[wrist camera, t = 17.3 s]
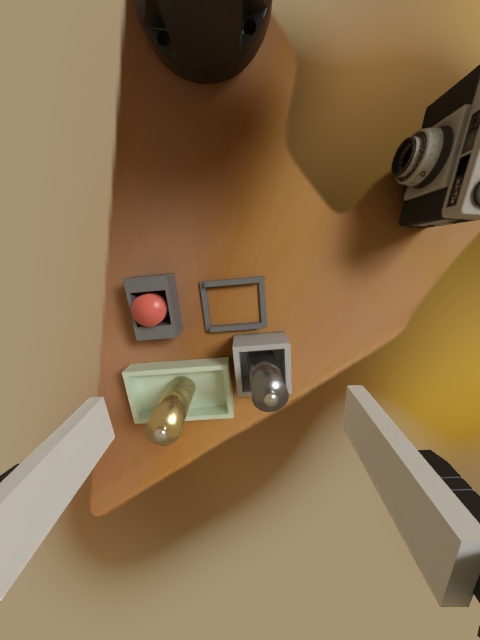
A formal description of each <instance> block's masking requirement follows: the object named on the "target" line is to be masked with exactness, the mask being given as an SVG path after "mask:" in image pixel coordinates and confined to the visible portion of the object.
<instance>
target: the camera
mask: <svg viewBox="0 0 480 640" xmlns="http://www.w3.org/2000/svg"><path fill="white" fill-rule="evenodd" d="M392 174H393V175H394V176H395V177H396V180H397V182H398V183H399V184H403V185H407V186H406V189H405V195H404V204H403V208H402V213H401V217H400V221H399V225H400V226H406V227H421V228H428V227H434V226H443V225H449V224H455V223H461V222H468V221H474V220H480V65H479V66H477V67H476V68H475V69H474V70H473V71H471V72H470V73H469V74H468V75H467V76H465V77H464V78H463V79H462V80H460V81H459V82H458V83H457V84H456V85H454V86H453V87H452V88H451V89H449V90H448V91H447V92H446V93H445V94H444V95H442V96H441V97H440V98H438V99H437V100H436V101H435V102H434V103H432V104H431V105H430V106H428V107H427V109H426V113H425V116H424V120H423V125H422V129H420V130H418V131H417V132H416V133H414V134H413V135H412V136H411V137H408V138H407V139H405V140H404V141H403V142H402V143H401V145H400V146H399V148H398V149H397V151H396V154H395V156H394V159H393V162H392Z"/></svg>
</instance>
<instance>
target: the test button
mask: <svg viewBox="0 0 480 640" xmlns="http://www.w3.org/2000/svg"><path fill="white" fill-rule="evenodd" d="M131 312H132V315H133V317H134V319H135V320H136V321H137V322H138V323H139V324H141V325H143V326H147V327H152V326H155V325H157V324H159V323H160V322H161V321H162V320H164V319H165V318H166V316H167V314H168V304H167V302H166V300H165V299H164V298H163V297H162V296H160V295H159V294H156V293H147V294H144V295H141V296H139V297H137V298H136V299H135V300H134V301H133V303H132V306H131Z"/></svg>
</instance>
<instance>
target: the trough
mask: <svg viewBox="0 0 480 640" xmlns="http://www.w3.org/2000/svg"><path fill="white" fill-rule="evenodd" d="M122 376H123V380H124V384H125V388H126V392H127V396H128V400H129V403H130V407H131V411H132V415H133V419H134V423H135V424H143V423H147V422H148V420H149V418H150V417H151V415H152V413H153V412H154V410H155V408H156V406H157V405H158V403H159V401H160V400H161V398H162V396H163V394H164V393H165V391H166V389H167V388H168V386H169V384H170V382H171V381H172V380H173V379H174V378H175V377H178V376H185V377H188V378H190V379H191V380H192V381H193V382H194V384H195V387H196V390H195V393H194V396H193V399H192V401H191V404H190V407H189V410H188V413H187V415H186V418H185V421H191V420H207V419H223V418H234V400H233V391H232V381H231V372H230V363H229V357H221V358H208V359H194V360H181V361H167V362H153V363H140V364H130V365H129V366H128V367H127V368H126V369H125V370H124V371H123V372H122Z"/></svg>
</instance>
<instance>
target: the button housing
mask: <svg viewBox="0 0 480 640" xmlns="http://www.w3.org/2000/svg"><path fill="white" fill-rule="evenodd" d="M123 283H124V287H125V292H126V296H127V300H128V305H129V309H130V314H131V318H132V323H133V327H134V332H135V336H136V341H142V340H155V339H168V338H177V337H178V336H179V335H180V334H181V332H182V331H183V326H182V320H181V314H180V307H179V301H178V295H177V289H176V283H175V277H174V273H169V274H158V275H146V276H135V277H130V278H124V279H123ZM160 290H165V292H166V298H167V303H168V309H169V315H170V319H165V320H162V321H161V322H160V323H159V324H157V325H155V326H152V327H147V326H143V325H141V324H139V323H138V322H137V321H136V320H135V319H134V317H133V315H132V312H131V306H132V303H133V301H134V300H135V299H136V298H137V297H139V296H141V295H142V294H141V292H148V291H160Z"/></svg>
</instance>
